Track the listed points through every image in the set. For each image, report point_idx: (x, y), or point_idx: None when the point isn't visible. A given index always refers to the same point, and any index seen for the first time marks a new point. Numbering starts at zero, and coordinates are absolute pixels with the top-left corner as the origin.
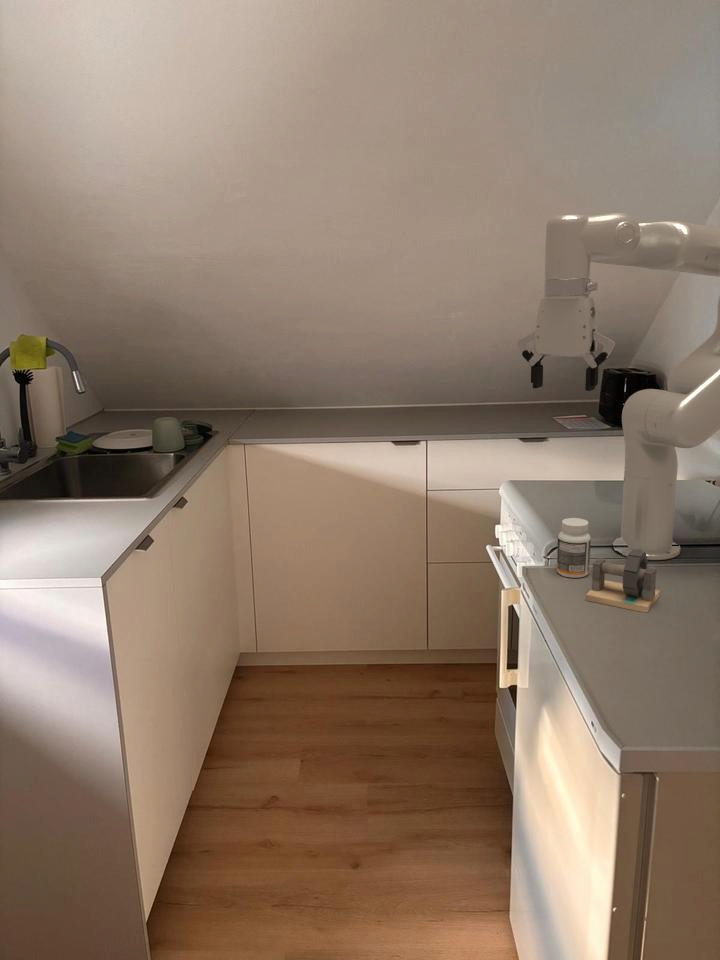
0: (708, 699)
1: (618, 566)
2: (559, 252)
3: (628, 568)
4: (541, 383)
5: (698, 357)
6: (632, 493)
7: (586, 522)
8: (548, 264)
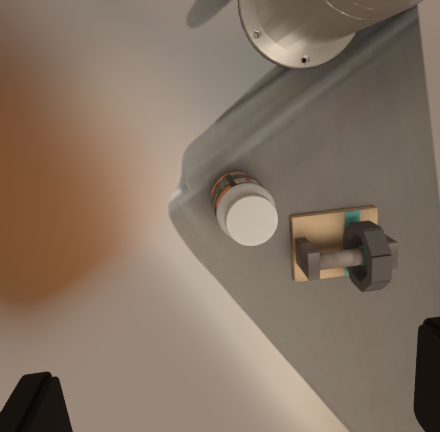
0: None
1: (344, 264)
2: None
3: (370, 290)
4: (55, 409)
5: None
6: (326, 25)
7: (273, 212)
8: None
